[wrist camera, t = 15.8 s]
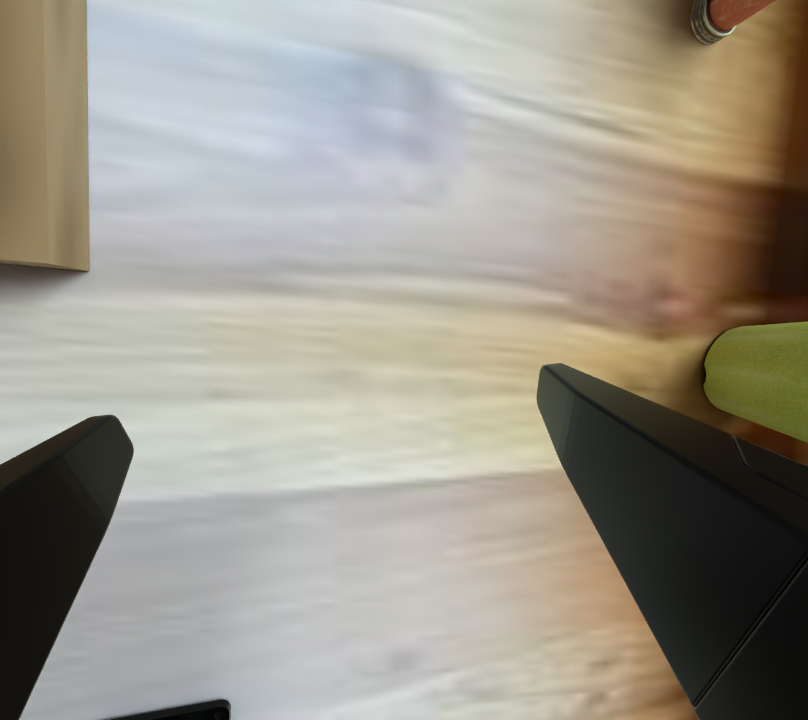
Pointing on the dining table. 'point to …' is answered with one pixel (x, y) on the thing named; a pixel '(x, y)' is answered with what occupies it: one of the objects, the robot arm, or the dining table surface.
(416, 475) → the dining table surface
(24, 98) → the board
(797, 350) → the plant pot
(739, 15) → the lighter
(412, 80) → the dining table surface
